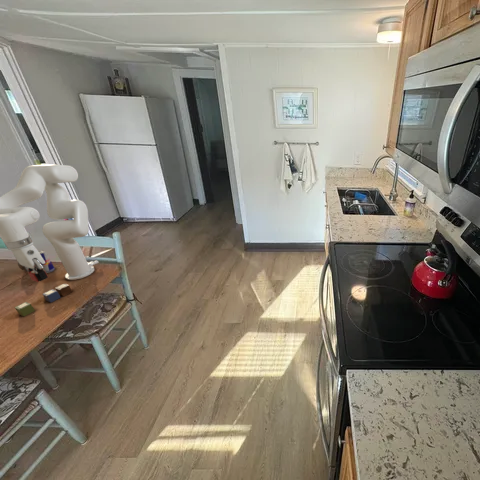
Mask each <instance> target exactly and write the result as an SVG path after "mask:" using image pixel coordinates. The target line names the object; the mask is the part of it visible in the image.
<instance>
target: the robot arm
mask: <svg viewBox="0 0 480 480" xmlns="http://www.w3.org/2000/svg"><path fill="white" fill-rule="evenodd" d="M78 179H79V172H78V171H77V169H76V168H74V167H73V166H72V165H68V164H67V165H66V164H54V163H53V164H52V163H51V164H35V165H34V164H33V165H28V166H25V167H24V169H23V170H22V172H21V175H20V176H19V179H18V180H17V181H18V182H17V183H16V186H15V187H14V188H12V189H11V190H9V191H8V192H6V193H4V194H2V195H1V196H0V239H1V241H2V242H3V244H4V245H5V247H6V249H7V250H9V251H11V252H12V254H13V256H14V258H15V259H16V261H17V263H18V262H19V264H20V265H22V266H24V267H25V268H26V270H27V271H26V272H27V273H29V272H31V271H34V272H35V273H36V274H35V276H36V277H37V279H38V281H39V282H42V281H45V280H47V279H49V276H47V275H48V273H45V271H44V269H43V268H44V267H43V266H42V265H41V264H45V261H44V259H43V258H42V256H41V255H40V253H39V252H38V251H39V250H38V249H37V247H36V246H35V245H34V241H33V240H32V237H31V236H30V234H29V232H28V231H27V229H26V227H28V226H31V225H34V224H35V223H36V222H38V221H39V220H40V217H41V216H40V212H39V211H38V209H36V208H34V207H31V206H23V205H26V204H28V203H31V202H34V201H36V200H38V199H40V198H41V197H42V196H43V194H44V191H45V193H46V213H47V216H48V218H49V219H51V220H54V221H50V222H47V223H44V225H43V226H42V229H41V230H42V234H43V235H44V237H45V238H46V239H47V240H48V242H49V243H50V244H51V246H52V248H53V249H54V251H55V253H56V254H57V256H58V258H59V260H60V262H61V264H62V265H63V268H64V270H65V271H66V274H64V277H65V279H66V280H67V281H76V280H80V279H83V278H87V277H89V276H90V275H92V274H93V273H94V272H95V267H94V266H95V265H98V264H99V263H100V262H99V260H98V259H96V260H94V261H93V260H91V261H87V258H86V257H85V254H84V252H83V250H82V248H81V246H80V244H79V242H78V241H77V240H75V239H76V238H77V239H78V238H83V237H86V236H87V235H88V234H89V231H90V230H89V229H90V227H89V224H90V223H89V210H88V206H87V204H86V203H85V202H84V201H83V200H80V199H70V193H69V191H68V190H67V189H66V188H65V187H63V186H62V185H60V184H65V183H66V184H67V183H75V182H77V181H78ZM40 263H41V264H40ZM35 265H36V266H35ZM36 269H37V270H36Z"/></svg>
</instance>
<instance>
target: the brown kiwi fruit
mask: <svg viewBox="0 0 480 480" xmlns="http://www.w3.org/2000/svg"><path fill="white" fill-rule="evenodd" d="M17 266H18V268H19V269H20V270H22V271H24V272H28V271H27V270H26V268H25V267H24V266H22V265H20V264H19V262H18V261H17ZM35 266H36V265H35Z"/></svg>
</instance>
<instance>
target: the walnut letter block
mask: <svg viewBox="0 0 480 480" xmlns="http://www.w3.org/2000/svg"><path fill="white" fill-rule="evenodd" d="M54 290H55V291H57V292H58V294H59V295H60V297H61V296H62V297H65V296H67V295H69V294H71V293H73V290H72V289H71V286H70V285H69V284H67V283H63V284H60V285H58V286H56V287H54Z"/></svg>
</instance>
